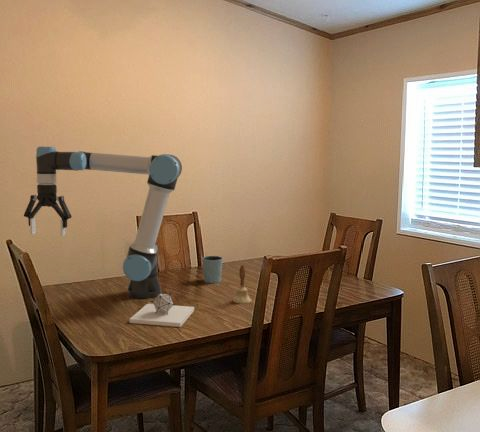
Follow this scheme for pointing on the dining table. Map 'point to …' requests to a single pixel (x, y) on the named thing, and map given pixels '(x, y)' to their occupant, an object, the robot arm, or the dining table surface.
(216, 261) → the blue cup
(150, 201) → the robot arm
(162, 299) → the game die
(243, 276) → the hand bell
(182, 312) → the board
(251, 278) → the dining table surface
